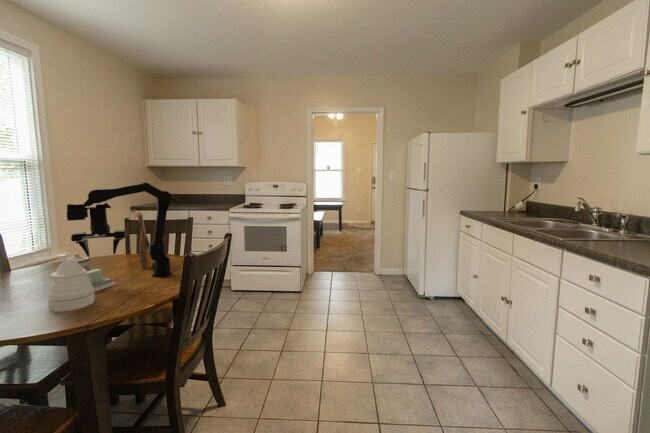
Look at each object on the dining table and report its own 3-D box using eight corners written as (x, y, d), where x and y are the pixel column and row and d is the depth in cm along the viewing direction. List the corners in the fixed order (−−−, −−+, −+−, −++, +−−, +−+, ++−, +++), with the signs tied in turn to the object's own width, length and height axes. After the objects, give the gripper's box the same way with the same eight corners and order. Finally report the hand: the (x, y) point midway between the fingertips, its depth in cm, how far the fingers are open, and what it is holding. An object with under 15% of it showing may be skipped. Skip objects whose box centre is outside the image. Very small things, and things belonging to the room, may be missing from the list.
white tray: (114, 284, 137) (114, 279, 136) (86, 294, 125) (86, 288, 125) (96, 282, 139) (96, 276, 139) (67, 291, 128) (67, 285, 128)
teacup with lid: (87, 281, 141) (85, 255, 140) (61, 283, 138) (59, 256, 136) (94, 273, 152) (92, 249, 151) (70, 275, 149) (68, 251, 147)
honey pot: (42, 313, 107) (37, 260, 105) (56, 300, 118) (52, 252, 116) (89, 308, 112) (85, 257, 110) (98, 296, 124) (95, 249, 122)
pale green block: (86, 288, 128) (85, 274, 128) (80, 288, 129) (79, 273, 129) (102, 283, 135) (101, 269, 134) (97, 282, 136) (96, 268, 135)
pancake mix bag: (137, 270, 158) (134, 214, 155) (138, 262, 175) (136, 210, 172) (153, 269, 161) (150, 213, 158) (152, 260, 178) (150, 210, 175)
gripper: (127, 216, 147) (129, 249, 149) (77, 218, 139) (80, 253, 141) (123, 218, 137) (125, 254, 139) (69, 221, 129) (72, 259, 131)
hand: (101, 255), depth 138 cm, fingers open, 9 cm apart
